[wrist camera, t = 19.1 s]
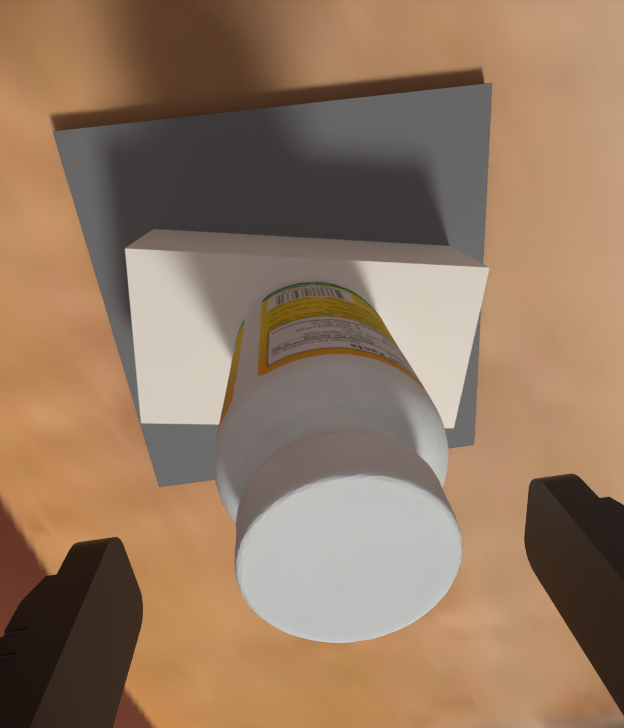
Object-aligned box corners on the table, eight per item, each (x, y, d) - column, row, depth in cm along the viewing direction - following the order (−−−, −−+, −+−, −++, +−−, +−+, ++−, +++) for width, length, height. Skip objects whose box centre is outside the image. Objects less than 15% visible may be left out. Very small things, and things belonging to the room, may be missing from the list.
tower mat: (469, 438, 25) (474, 444, 24) (161, 479, 24) (159, 487, 24) (485, 85, 18) (492, 82, 17) (59, 132, 17) (52, 131, 17)
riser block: (423, 383, 22) (453, 428, 19) (163, 376, 21) (141, 423, 17) (449, 245, 20) (489, 267, 16) (153, 228, 18) (124, 248, 15)
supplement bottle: (310, 241, 15) (364, 365, 7) (414, 346, 17) (565, 551, 8) (202, 354, 17) (126, 581, 8) (309, 440, 18) (346, 702, 10)
